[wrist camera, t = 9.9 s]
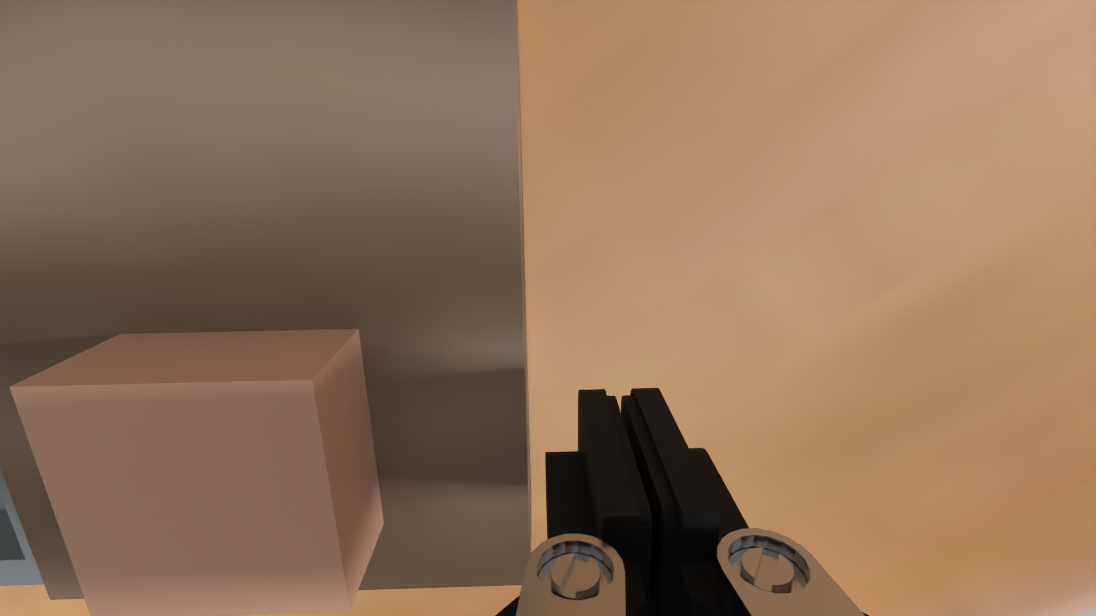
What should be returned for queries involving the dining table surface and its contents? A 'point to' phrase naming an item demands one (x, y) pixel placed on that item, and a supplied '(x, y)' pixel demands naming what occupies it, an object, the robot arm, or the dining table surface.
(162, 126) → the walnut board
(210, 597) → the terracotta tile
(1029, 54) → the dining table surface
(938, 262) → the dining table surface
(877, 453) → the dining table surface
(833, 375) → the dining table surface
